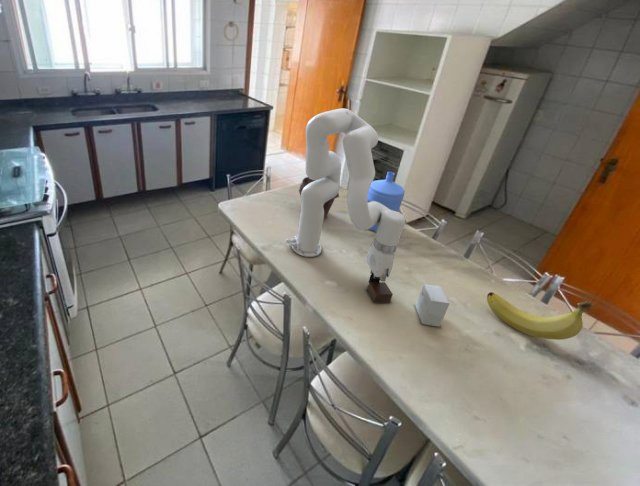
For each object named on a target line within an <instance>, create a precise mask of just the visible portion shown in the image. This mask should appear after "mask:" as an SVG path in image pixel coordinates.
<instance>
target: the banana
mask: <svg viewBox="0 0 640 486" xmlns="http://www.w3.org/2000/svg"><path fill="white" fill-rule="evenodd" d="M486 301H487V305H488V307H489V308H490V310H491V311H492V313H494V314H495V316H496V317H497V318H498V319H500V320H501V321H502V322H504V323H506V325H508V326H510V327H512V328H514V329H515V330H517V331H519V332H521V333H524V334H526V335H528V336H532V337H534V338H539V339H546V340H555V341H557V340H558V341H560V340H561V341H562V340H567V339H571V338H574V337H576V336H578V335H579V333H581V331H582V329H583V326H584V323H583V313H584V312H586V311H590V310H591V308H593V307H594V304H593V303H592V302H590V301H587V300H586V301H584V302H577V303H576V305H577V308H576V309H575V310H574V311H572V312H568V313H562V314H558V315H553V316H544V315H543V316H541V315H535V314H532V313H528V312H526V311H524V310H522V309H520V308H518V307H516V306H515V305H513V304H511V303H510V302H509V301H507V300H506V299H504V298H503V297H502V296H500V295H499V294H497V293H495V292H488V293H487V295H486Z"/></svg>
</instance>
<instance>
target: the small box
mask: <svg viewBox="0 0 640 486" xmlns="http://www.w3.org/2000/svg"><path fill="white" fill-rule="evenodd" d="M449 306H450V301H449V300H448V297H447V296H446V294H445V292H444V290H443V288H442V286H439V285H434V284H427V283H423V285H422V287H421V290H420V292H419V295H418V298H417V301H416V304H415V309H416V312H417V314H418V317H419V320H420V322H421V324H422V325H426V326H431V327H432V326H433V327H438V328H440V327H441V324H442V322H443V320H444V318H445V316H446V313H447V310H448V309H449Z"/></svg>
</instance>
